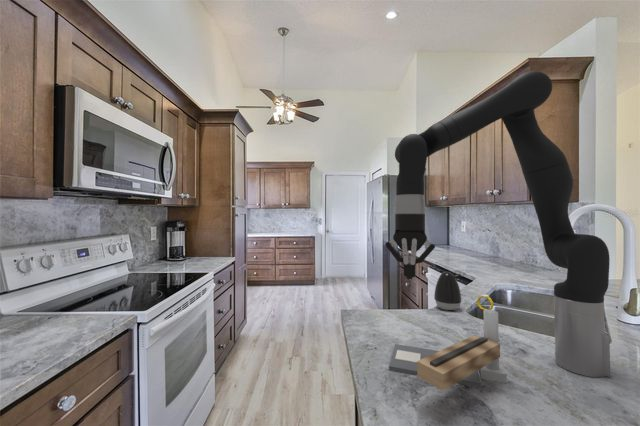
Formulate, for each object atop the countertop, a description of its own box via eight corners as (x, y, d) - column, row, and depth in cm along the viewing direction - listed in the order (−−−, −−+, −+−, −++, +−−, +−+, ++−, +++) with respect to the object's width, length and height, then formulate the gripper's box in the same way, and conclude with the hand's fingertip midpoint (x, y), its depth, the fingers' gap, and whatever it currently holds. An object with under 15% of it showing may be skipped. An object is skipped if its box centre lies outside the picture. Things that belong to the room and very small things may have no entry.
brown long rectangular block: (474, 347, 68) (474, 332, 68) (500, 357, 63) (499, 340, 63) (417, 376, 55) (417, 358, 56) (443, 390, 51) (443, 370, 51)
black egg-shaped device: (465, 313, 110) (465, 274, 110) (437, 312, 111) (437, 273, 112) (457, 305, 120) (456, 269, 120) (431, 304, 121) (431, 269, 122)
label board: (497, 364, 72) (496, 305, 72) (511, 393, 59) (510, 322, 60) (395, 347, 81) (394, 295, 81) (389, 370, 69) (388, 308, 69)
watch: (494, 311, 112) (495, 297, 112) (490, 313, 111) (491, 298, 111) (479, 306, 117) (480, 292, 117) (475, 307, 116) (476, 293, 116)
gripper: (382, 212, 73) (381, 279, 72) (437, 212, 68) (437, 284, 68) (386, 212, 80) (386, 273, 79) (436, 213, 75) (436, 278, 75)
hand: (409, 278), depth 73 cm, fingers closed
